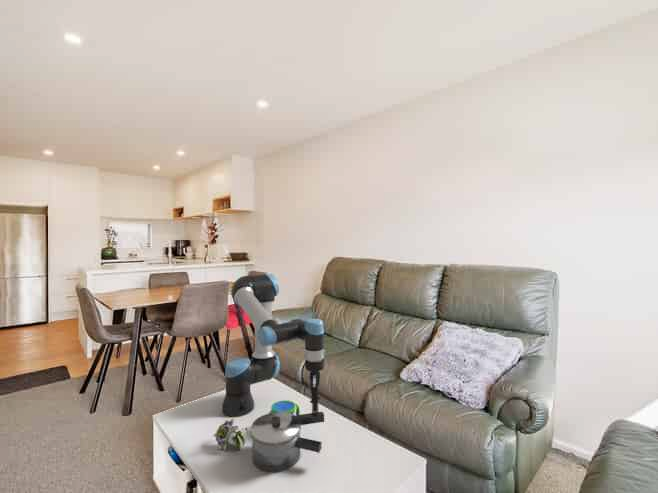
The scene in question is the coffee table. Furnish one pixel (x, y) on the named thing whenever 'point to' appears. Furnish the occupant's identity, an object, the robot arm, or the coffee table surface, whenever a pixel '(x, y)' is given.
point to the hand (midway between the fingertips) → (315, 417)
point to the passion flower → (229, 435)
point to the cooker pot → (281, 453)
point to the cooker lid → (281, 426)
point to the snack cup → (285, 407)
